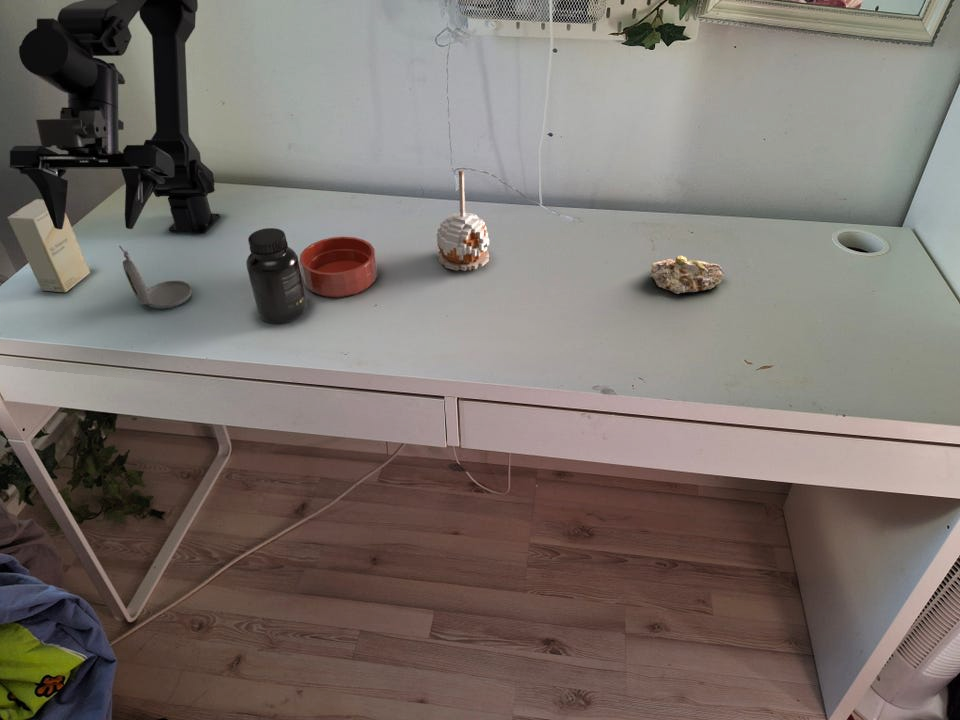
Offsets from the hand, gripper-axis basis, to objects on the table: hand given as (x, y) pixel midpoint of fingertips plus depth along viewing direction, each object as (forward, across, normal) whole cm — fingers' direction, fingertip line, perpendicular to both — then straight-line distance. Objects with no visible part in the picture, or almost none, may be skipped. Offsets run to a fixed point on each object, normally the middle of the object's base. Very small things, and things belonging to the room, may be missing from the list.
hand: (93, 228), depth 92 cm
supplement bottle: (+10, +21, +11) cm, 26 cm away
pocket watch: (+8, +3, +13) cm, 16 cm away
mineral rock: (+5, +80, +17) cm, 82 cm away
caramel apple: (+1, +47, +22) cm, 52 cm away
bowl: (+4, +28, +18) cm, 33 cm away
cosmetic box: (+5, -14, +17) cm, 23 cm away
